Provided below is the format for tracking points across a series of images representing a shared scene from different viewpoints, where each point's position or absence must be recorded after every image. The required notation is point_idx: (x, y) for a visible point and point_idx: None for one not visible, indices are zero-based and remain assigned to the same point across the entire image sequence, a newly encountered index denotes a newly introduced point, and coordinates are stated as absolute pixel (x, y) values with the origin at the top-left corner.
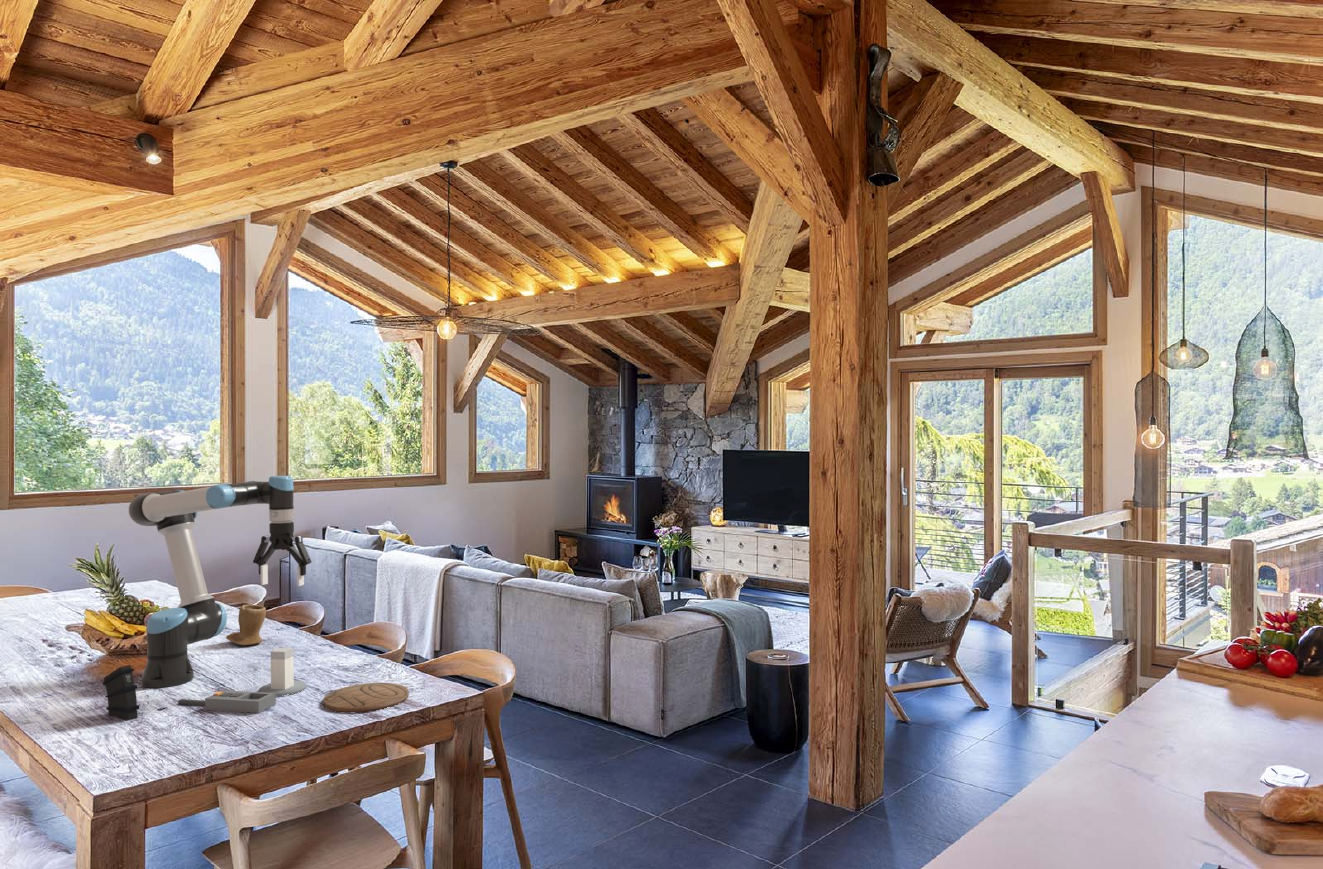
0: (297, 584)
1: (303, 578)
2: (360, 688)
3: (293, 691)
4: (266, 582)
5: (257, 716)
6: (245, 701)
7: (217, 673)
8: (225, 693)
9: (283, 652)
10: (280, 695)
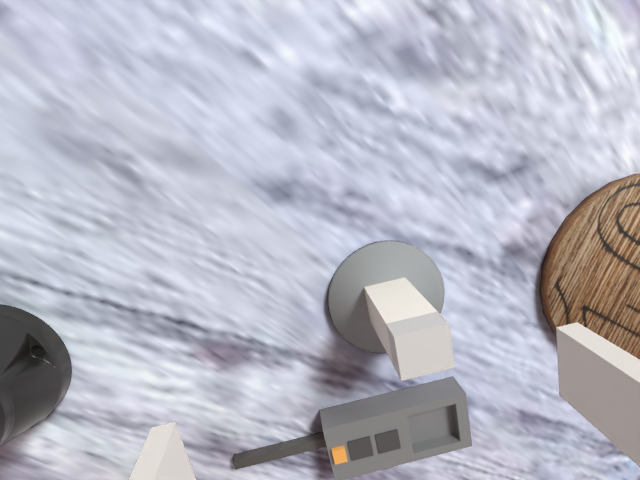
0: (573, 404)
1: (632, 364)
2: (602, 242)
3: (440, 312)
4: (178, 453)
5: (471, 438)
6: (438, 452)
7: (54, 254)
8: (354, 446)
9: (448, 367)
10: None
